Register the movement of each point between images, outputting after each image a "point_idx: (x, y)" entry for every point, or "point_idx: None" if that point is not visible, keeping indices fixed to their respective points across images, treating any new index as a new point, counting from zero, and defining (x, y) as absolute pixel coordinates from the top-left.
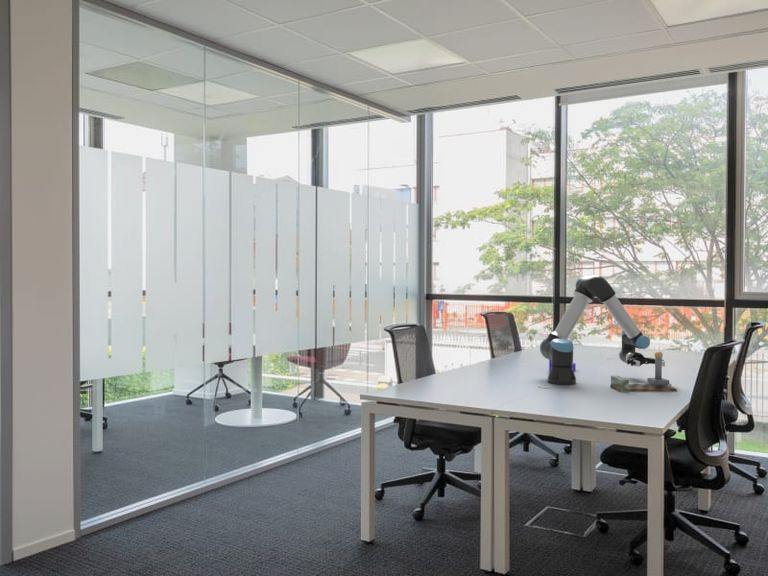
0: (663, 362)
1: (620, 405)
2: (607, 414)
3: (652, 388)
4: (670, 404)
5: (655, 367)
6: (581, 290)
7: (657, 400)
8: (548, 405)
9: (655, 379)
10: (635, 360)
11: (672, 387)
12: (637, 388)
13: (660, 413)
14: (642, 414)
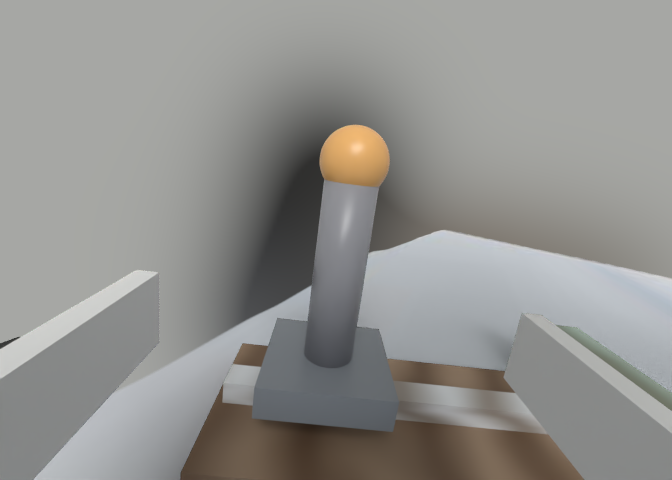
0: (155, 289)
1: (508, 275)
2: (519, 255)
3: (387, 359)
4: (389, 264)
5: (365, 269)
6: None
7: (410, 284)
8: (668, 295)
9: (355, 347)
10: (648, 395)
11: (244, 364)
12: (473, 368)
13: (429, 246)
14: (461, 248)
